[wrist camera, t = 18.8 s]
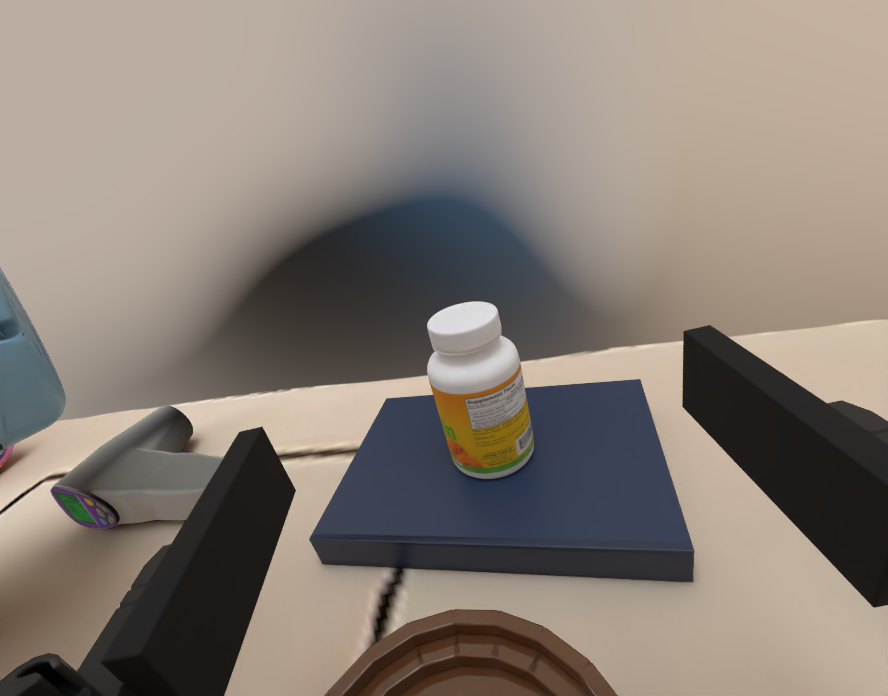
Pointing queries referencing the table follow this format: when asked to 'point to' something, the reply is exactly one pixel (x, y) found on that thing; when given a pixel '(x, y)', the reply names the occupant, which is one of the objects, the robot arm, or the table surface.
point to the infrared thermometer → (138, 475)
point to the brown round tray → (472, 660)
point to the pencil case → (5, 455)
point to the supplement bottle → (479, 391)
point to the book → (516, 494)
